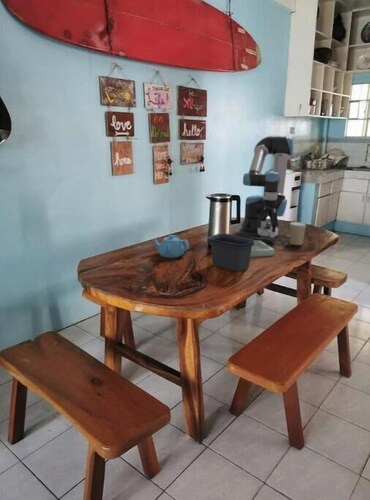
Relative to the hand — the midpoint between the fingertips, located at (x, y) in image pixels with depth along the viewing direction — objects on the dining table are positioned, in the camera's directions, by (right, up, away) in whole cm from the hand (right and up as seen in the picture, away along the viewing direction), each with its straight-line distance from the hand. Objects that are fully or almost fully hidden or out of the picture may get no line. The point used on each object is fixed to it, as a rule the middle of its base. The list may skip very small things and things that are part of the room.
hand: (267, 234), depth 223 cm
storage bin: (-27, -18, -40) cm, 52 cm away
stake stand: (0, -5, +2) cm, 5 cm away
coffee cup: (+17, -6, 0) cm, 18 cm away
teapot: (-57, -12, -24) cm, 64 cm away
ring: (0, 0, 0) cm, 0 cm away
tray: (-13, -10, -17) cm, 24 cm away
